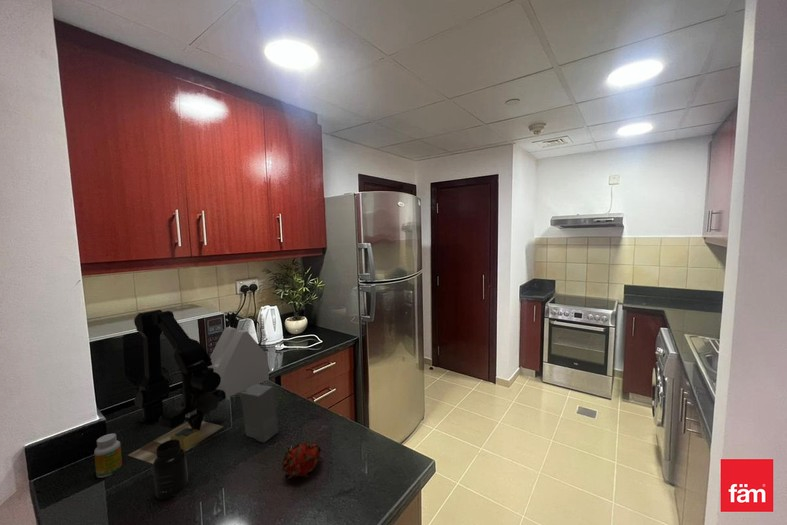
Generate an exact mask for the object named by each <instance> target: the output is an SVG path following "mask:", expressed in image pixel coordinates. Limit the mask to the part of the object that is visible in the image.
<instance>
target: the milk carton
mask: <svg viewBox="0 0 787 525" xmlns="http://www.w3.org/2000/svg"><path fill="white" fill-rule="evenodd" d="M209 356H210V358H211V362H212V365H211V366H208V368H213V369H214V372H216V373H218V374H219V375H220V377H221V382H220V384H219V386H218V388H217V389H220V390H223V391H224V392H225V393H226V398H225V399H227V398H229V397H232V396H234V395H237V394H240V393H241V392H242V391H244V390H246V389H248V388H249V387H251V386H253V385H255V384H260V383H261V384H263V383H265V382H264V381H266V382H268V381H270V379H269V378H270V377H269V375H270V374H269V360H268V356H269V355H267V353H266V352H265V351H264V350H263V349H262V347H261V346H260V345H259V344H258V342H256V339H254V337H252V335H251V334H250V333H249V331H247V330H242V329H237V328H235V327H231V326H227V327H224V328H223V330H222V333H221V335H220V337H219V339H218V341H217V343H216V344H215V346H214V348H213V351H212V352H211V354H210V355H209ZM262 382H263V383H262ZM261 384H260V385H261Z"/></svg>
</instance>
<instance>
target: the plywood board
mask: <svg viewBox="0 0 787 525" xmlns="http://www.w3.org/2000/svg"><path fill="white" fill-rule="evenodd" d="M185 427H188V428H191V426H190V425H189V424H188V422H187V421H186V422H183V423H182V424H180V425H178V426H176V427H175V428H172V430H170V431H168V432H167V433H164V434H162V435H161V436H159V437H157V438H156V439H154V440H152V441H150V442H149V443H147V444H145V445H143V446H141V447H140V448H138V449H137V450H134V451H132V452H131V453H129V454H127V456H128V457H131V458H134V459H137V460H141V461H143V462H147V463H149V464H152V465H153V463H154V461H155V459H156V458H157V451H156V450H157V447H158V446H159V445H161V444H162V443H164V442H166V441H169V440H170V436H172V435H173V434H175V433H177V432H178V431H180V430H182V429H184V428H185ZM222 428H224V425H220V424H217V423H216V424H215V423H212V422H207V421H204V420H203V421H202V424H201V427H200V440H199V441H197V442H196V443H194V444H193V445H191V446H190V447H188V448H186V449H185V450H184V449H183V450H184V451H185V452H188V451H189V450H190V449H192V448H193V447H195V446H196V445H197V444H199V443H201V442H202V441H204V440H205V439H207V438H209V437H210V436H211V435H213V434H214V433H216V432H218V431H219V430H221V429H222Z"/></svg>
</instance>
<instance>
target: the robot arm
mask: <svg viewBox="0 0 787 525" xmlns="http://www.w3.org/2000/svg"><path fill="white" fill-rule="evenodd" d="M133 322H134V325H135V328H136V331H137V332H138V333H139V334H140V335H141V337H142V343H143V344H142V347H143V366H144V377H143V378H142V379H141V382H140V383H139V385H138V386H139V387H138V388H139V389H138V393H137V394H136V396H135V398H134V399H133V400H134V406H135V407H137V408H139V409H141V410H142V417H141V418H139V419H138V423H139V422H140V423H144V424H147V425H151V424H154V423H155V422H157V421H158V422H159V426H160V427H161V426H162V427H165V428H167V429H175V428H177V427H179V426H180V425H182V424H184V423H185V421H186V422H188V424H189V425H190V426H191V428H192V429H196V430H200V427H201V424H202V421H204V417H205V415H207V414H210V413H211V412H212V411H214V410H216V409H218V407H219V403H221V402H223V401H224V400H225V399H227V398H226V393H225V392H224V391H223V390H220V389H217V388H218V386H219V384H220V382H221V377H220V375H219V374H218V373H216V372H214V369H213V368H208V366H211V365H212V362H211V358H210V356H211V355H210V354H209V353H208V351H207V350H206V348H205V347H204V346H203V345H202V344H201V343H200V342H199V341H198V340H196V339H193V338H191V337H190V336H189V335H188V334H187V333H186V331H185V330H184V329H183V328H182V326H181V325H180V324H179V322H178V321H177V319H176V318H175V315H174V312H173V311H171V310H165V311H163V310H161V309H155V310H150V311H144V312H139V313H138V314H137V315H136V316H135V317H134V320H133ZM162 334H163V335H164V336H165V337H166V340H167V341H168V342H169V343H170V345H171V346H172V348H173V350H174V352H173V358H174V360H175V363H176V365H177V366H178V369H177V370H178V371H179V372H180V373H181V375H180V376H181V385H182V389H181V390H179V394H181V395H182V399H183V401H182V402H181V403H180V406H181V407H183V408H182V409H180V410H175V409H172V410H170V411H168V412H164V403H163V401H164V400H166V399H169V395H170V389H171V388H170V383H169V379H168V378H166V377H165V376H164V375H163V373H162V370H163V369H162V348H161V347H162V346H161V335H162Z"/></svg>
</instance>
